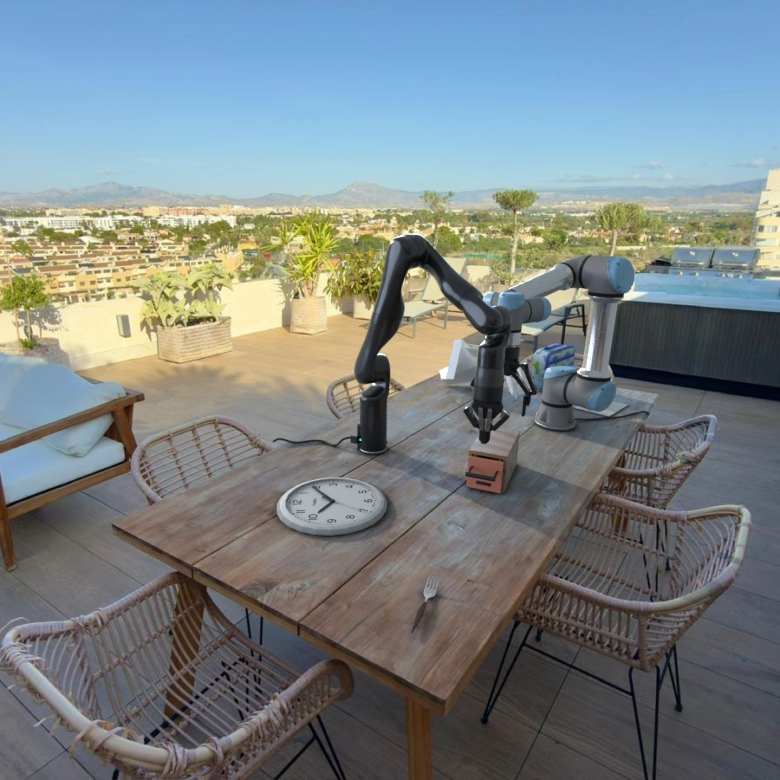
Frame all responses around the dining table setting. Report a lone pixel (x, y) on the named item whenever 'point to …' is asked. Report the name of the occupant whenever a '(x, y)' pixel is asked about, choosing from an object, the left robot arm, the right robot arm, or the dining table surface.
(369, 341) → the left robot arm
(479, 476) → the drawer
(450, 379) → the white plastic object
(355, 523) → the wall clock
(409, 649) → the dining table surface
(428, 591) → the fork
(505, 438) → the cabinet
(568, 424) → the right robot arm
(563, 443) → the dining table surface
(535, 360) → the lunch box
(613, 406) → the invitation card
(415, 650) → the dining table surface
